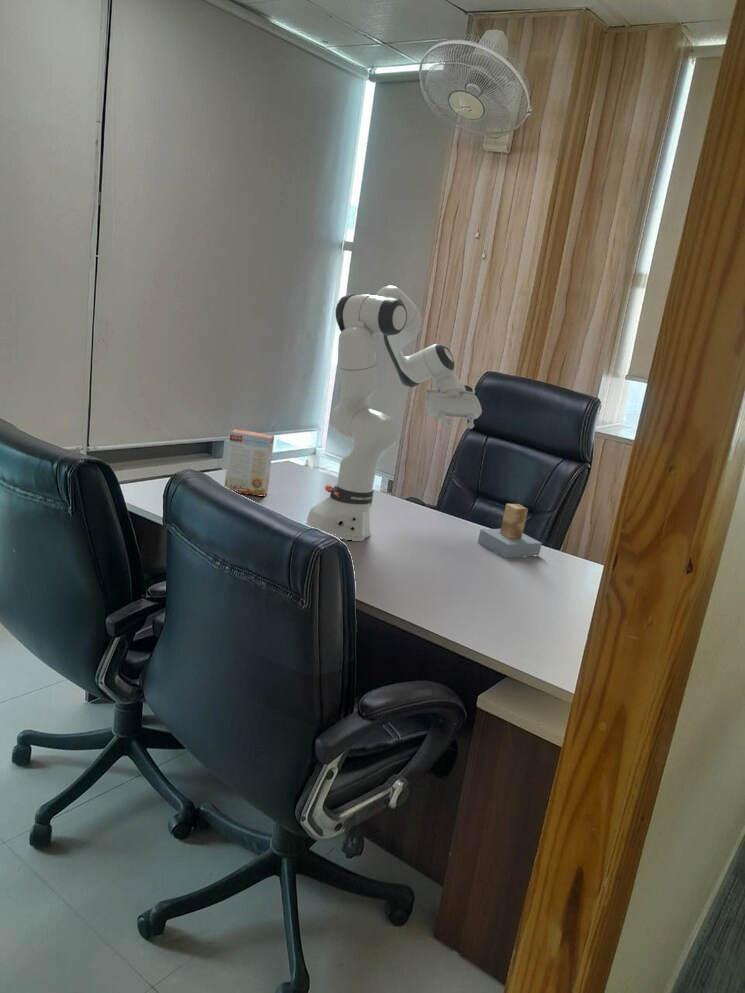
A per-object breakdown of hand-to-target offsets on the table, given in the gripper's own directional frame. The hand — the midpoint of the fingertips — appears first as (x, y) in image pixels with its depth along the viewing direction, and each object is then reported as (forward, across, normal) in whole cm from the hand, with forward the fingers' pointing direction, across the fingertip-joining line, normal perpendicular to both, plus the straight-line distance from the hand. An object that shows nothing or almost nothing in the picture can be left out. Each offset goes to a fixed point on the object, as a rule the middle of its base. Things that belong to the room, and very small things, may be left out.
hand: (459, 426), depth 259 cm
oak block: (+38, +11, +5) cm, 39 cm away
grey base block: (+41, +11, +8) cm, 44 cm away
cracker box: (0, -58, +49) cm, 76 cm away
